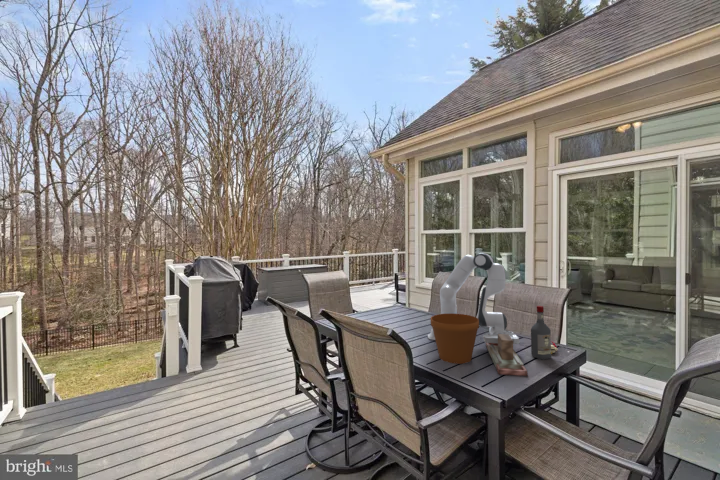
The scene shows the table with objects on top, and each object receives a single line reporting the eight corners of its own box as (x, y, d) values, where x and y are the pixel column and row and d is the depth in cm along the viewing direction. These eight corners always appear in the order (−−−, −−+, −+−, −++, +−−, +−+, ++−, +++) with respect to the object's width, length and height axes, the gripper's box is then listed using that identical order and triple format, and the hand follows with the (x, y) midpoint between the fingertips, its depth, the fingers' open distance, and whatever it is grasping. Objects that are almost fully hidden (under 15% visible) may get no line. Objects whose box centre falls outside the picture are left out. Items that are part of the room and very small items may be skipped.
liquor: (529, 354, 202) (528, 305, 202) (541, 353, 204) (540, 304, 204) (540, 360, 193) (539, 308, 193) (553, 358, 195) (552, 307, 195)
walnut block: (502, 359, 187) (501, 340, 187) (498, 352, 199) (497, 333, 199) (513, 360, 186) (513, 340, 186) (508, 352, 198) (508, 334, 198)
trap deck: (498, 374, 175) (498, 366, 175) (485, 344, 222) (485, 339, 222) (527, 376, 172) (527, 368, 172) (508, 346, 219) (508, 339, 219)
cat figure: (534, 343, 226) (542, 353, 202) (533, 330, 226) (541, 338, 202) (550, 345, 223) (560, 354, 199) (550, 331, 223) (560, 339, 199)
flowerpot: (465, 348, 216) (464, 312, 216) (489, 364, 189) (488, 323, 189) (424, 351, 212) (423, 315, 211) (443, 368, 184) (442, 326, 184)
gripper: (481, 330, 214) (484, 337, 201) (516, 332, 210) (521, 338, 196) (482, 340, 214) (485, 347, 201) (516, 342, 210) (521, 349, 196)
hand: (503, 343), depth 198 cm, fingers closed
